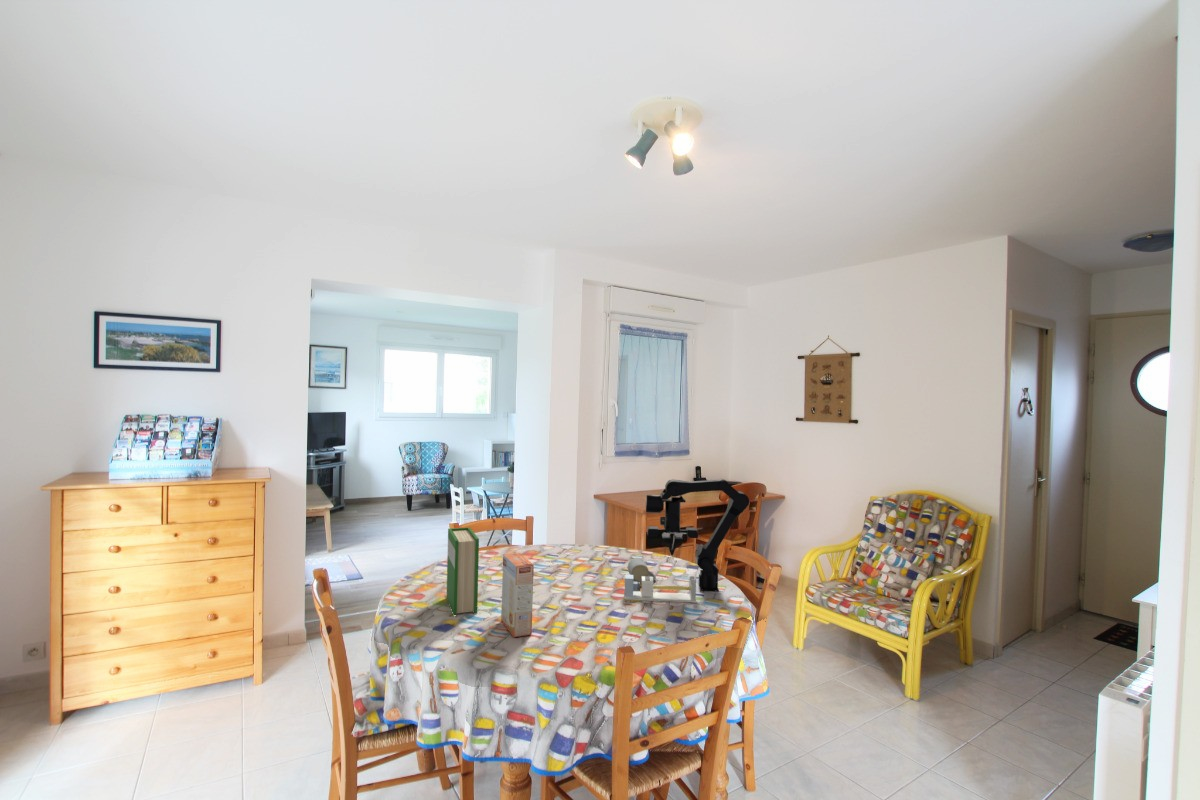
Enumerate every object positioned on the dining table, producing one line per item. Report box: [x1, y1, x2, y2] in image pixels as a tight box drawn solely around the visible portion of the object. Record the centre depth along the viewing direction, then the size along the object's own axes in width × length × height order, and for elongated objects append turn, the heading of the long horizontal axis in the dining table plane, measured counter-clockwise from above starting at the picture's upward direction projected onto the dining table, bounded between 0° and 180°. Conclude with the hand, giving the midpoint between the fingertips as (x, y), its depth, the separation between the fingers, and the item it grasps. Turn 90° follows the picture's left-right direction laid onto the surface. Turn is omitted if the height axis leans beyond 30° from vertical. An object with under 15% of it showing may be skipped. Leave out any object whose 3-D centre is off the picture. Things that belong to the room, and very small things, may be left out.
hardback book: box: [446, 526, 480, 616], centre depth 181 cm, size 18×7×24 cm, turn 23°
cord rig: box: [624, 574, 697, 603], centre depth 192 cm, size 25×7×7 cm, turn 87°
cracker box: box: [500, 552, 535, 638], centre depth 164 cm, size 14×6×21 cm, turn 25°
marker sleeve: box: [640, 576, 654, 597], centre depth 192 cm, size 4×5×6 cm
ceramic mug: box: [627, 557, 657, 583], centre depth 211 cm, size 11×8×8 cm
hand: (671, 554), depth 204 cm, fingers closed
